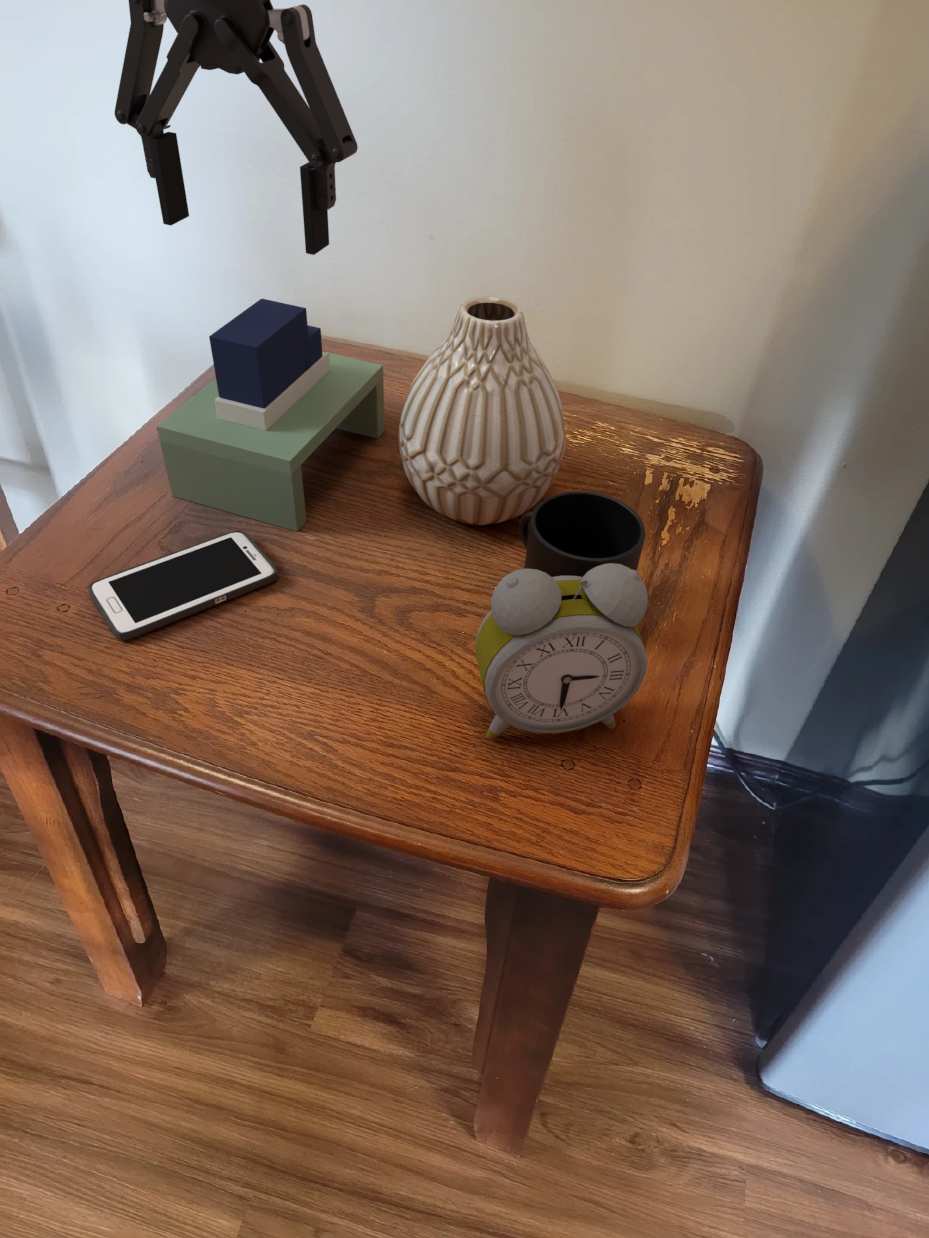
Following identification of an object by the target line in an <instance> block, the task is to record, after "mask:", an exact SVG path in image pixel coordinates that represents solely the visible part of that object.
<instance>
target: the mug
mask: <svg viewBox="0 0 929 1238" xmlns="http://www.w3.org/2000/svg"><path fill="white" fill-rule="evenodd" d="M518 526H519V527H518V528H519V536H520V539H521V542H522V544H523V546H524V548H525V549H526V550H525V551H526V552H525V559H524V560H525V561H524V567H523V569H537V570H540V571H542V572H545V573H547V574H548V575H549V576H551V577H556V576H579V577H583V576H584V575H585V574H586V573H587V572H588V571H589V570H591V569H593V568H595V567H597V566H600V565H603V564H608V563H615V564H621V565H624V566H626V567H629V568H630V569H631V570H636V571H637V572H638V567H639V563H640V561H641V555H642V552H643V547H644V543H645V539H646V528H645V524H644V522H643V520H642V518H641V517H640V515H639V514H638V513H637V512H636V511H635V510H634V509H633V508H632V507H631V506H629V505H628V504H627V503H625V502H623V501H621V500H619V499H617V498H615V497H613V496H611V495H606V494H604V493H599V492H594V491H587V490H585V491H584V490H573V491H563V492H559V493H556V494H553V495H550V496H548V497H546V498H545V499H543V500H541V501H539V503H537V505H536V506H535V508H534V509H533V510H531V511H526V512H524V513H523V515H522V516H521V517H520V521H519V525H518Z"/></svg>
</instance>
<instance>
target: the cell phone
mask: <svg viewBox="0 0 929 1238" xmlns="http://www.w3.org/2000/svg"><path fill="white" fill-rule="evenodd" d="M278 573H279V572H278V569H277V566H276V565H275V564H274V563H273V562H272V561H271V560H270V558H269V557H268V556H267V555H266V553H264V551H263V550H262V549H261V548H260V546H259V545H258V544H257V543H256V542H255V541H254V540H253V539H252V538H251V536H250V535H249V534H248V533H246V532H245V531H243V530H241V529H236V530H232V531H229V532H226V533H223V534H220V535H217V536H215V537H213V538H209V539H206V540H203V541H201V542H198V543H196V544H193V545H190V546H187V547H183V548H182V549H179V550H177V551H173V552H171V553H167V554H164V555H162V556H159V557H156V558H154V559H151V560H149V561H146V562H143V563H140V564H137V565H134V566H132V567H129V568H127V569H123V570H121V571H118V572H115V573H112V574H110V575H107V576H104V577H102V578H99V579H97V580H95V581H92V582H91V583H90V584H89V585H88V587H87V589H88V593H89V596H90V598H91V599H90V600H91V601H92V602H93V603H94V605H95V607H96V608H97V611H99V612H100V613H101V616H102V617H103V619H104V621H105V623H106V625H107V626H108V628H109V630H110V631H111V633H112V634H113V636H114V637H115V638H116V639H117V640H120V641H128V640H131V639H134V638H137V637H139V636H142V635H145V634H147V633H149V632H151V631H155V630H156V629H159V628H161V627H165V626H167V625H169V624H172V623H174V622H177V621H179V620H182V619H184V618H186V617H189V616H191V615H195V614H196V613H199V612H201V611H203V610H206V609H208V608H211V607H214V606H216V605H219V604H221V603H223V602H225V601H229V600H232V599H234V598H237V597H239V596H242V595H244V594H247V593H249V592H252V591H254V590H256V589H259V588H262V587H264V586H266V585H269V584H272V583H273V582H274V581H276V580H277V579H278V578H279V574H278Z"/></svg>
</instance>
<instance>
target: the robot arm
mask: <svg viewBox="0 0 929 1238" xmlns="http://www.w3.org/2000/svg"><path fill="white" fill-rule="evenodd" d="M128 11H129V18H130V26H129V31H128V37H127V41H126V46H125V54H124V58H123V64H122V69H121V75H120V80H119V85H118V89H117V95H116V102H115V107H114V117H115V119H116V121H117V122H118V123H119V124H120V125H127V126H128V125H129V126H130V127H132V128H133V129H135V130H136V132H137V134H138V135H139V136H140V138H141V139H140V140H141V144H142V149H143V154H144V155H143V156H144V160H145V164H146V171H147V174H148V175H149V177H150V178H151V179H155V184H156V190H157V195H158V201H159V207H160V212H161V217H162V223H163V225H166V226H173V225H175V224H177V223H179V222H181V221H183V220H185V219H187V218H188V217H190V212H189V206H188V199H187V194H186V193H187V192H186V188H185V180H184V174H183V169H182V162H181V156H180V147H179V143H178V135H177V132H172V131H166V132H165V130H167V129H169V128H171V124H169V123H170V121H171V119H172V117H173V115H174V114H175V112H176V110H177V108H178V107H179V105H180V102H181V101H182V99H183V97H184V96H185V94H186V91H187V90H188V88H189V86H190V84H191V82H192V81H193V78H194V77H195V75H196V73H197V71H198V70H199V68H200V69H201V70H206V71H213V70H219V69H220V70H222V71H224V72H225V73H228V74H232V75H240V74H243V73H244V74H245V75H246V77H247V78H248V80H249V81H250V83H252V84H253V85H256V87H258V88H259V90H260V91H261V93H262V94H263V96H264V97H265V99H266V100H267V102H268V103H269V105H270V106H271V108H272V109H273V111H274V112H275V113H276V115H277V117H278V118H279V119H280V121H281V122H282V124H283V126H284V127H285V128H286V130H287V131H288V133H289V134H290V136H291V137H292V139H293V140H294V142H295V143H296V145H297V147H298V148H299V149H300V151H301V152H302V154H303V155H304V156H305V158H306V160H307V161H308V162H306V163H304V164H303V165H301V166H299V171H300V172H299V173H300V187H301V188H300V189H301V202H302V203H301V204H302V218H303V232H304V246H305V254H307V255H311V256H315V255H316V254H317V253H319V252H321V251H322V250H324V249H325V248H327V247H328V246H329V245H330V231H329V214H328V211H329V210H330V209H332V208H333V207H335V205H336V202H337V188H336V163H341V162H343V161H344V160H346V159H348V158H350V157H352V156H354V155H355V154H356V153H357V151H358V148H359V147H358V142H357V140H356V138H355V135H354V133H353V130H352V128H351V126H350V125H351V124H350V123H349V121H348V118H347V115H346V113H345V111H344V108H343V106H342V103H341V101H340V98H339V95H338V92H337V91H336V89H335V85H334V83H333V81H332V79H331V75H330V74H329V71H328V69H327V66H326V64H325V61H324V59H323V57H322V54H321V51H320V49H319V46H318V44H317V39H316V32H315V27H314V18H313V12H312V10H311V8H310V7H309V6H308V5H307V4H299V5H294V6H291V7H288V8H287V7H286V8H274V6H273V4H272V2H271V0H128ZM167 19H168V21H169V22H170V24H171V26H172V27H173V29H174V30H175V32H176V33H177V34H176V36H175V38H174V41H173V42H172V45H171V46H170V48H169V50H168V52H167V55H166V59H167V61H166V63H165V64H164V67H163V68H162V71H161V72H160V74H159V77H158V78H157V81H156V82H155V84H154V86H153V83H154V79H155V78H154V77H155V74H156V69H157V63H158V60H159V54H160V50H161V44H162V39H163V35H164V27H165V23H166V22H167ZM275 31H276V33H277V39H278V41H279V42H281V43H282V45H284V48H285V51H286V55H287V57H288V58H287V59H288V60H289V63H290V66H291V68H292V70H293V72H294V75H295V77H296V79H297V82H298V84H299V87H300V89H301V92H302V94H303V96H304V97H303V96H302V94H301V93H300V91H299V90H298V88H297V86H296V85H295V83H294V82H293V81H292V79H291V77H290V76H289V75H288V73H287V71H286V69H285V62H284V61H283V59H282V57H281V56H280V54H279V53H278V51H277V50H276V48H275V47H274V45H273V44H272V42H271V41H270V40H271V38H272V36H273V34H274V32H275ZM152 86H153V88H152ZM305 100H306V101H305Z"/></svg>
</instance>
